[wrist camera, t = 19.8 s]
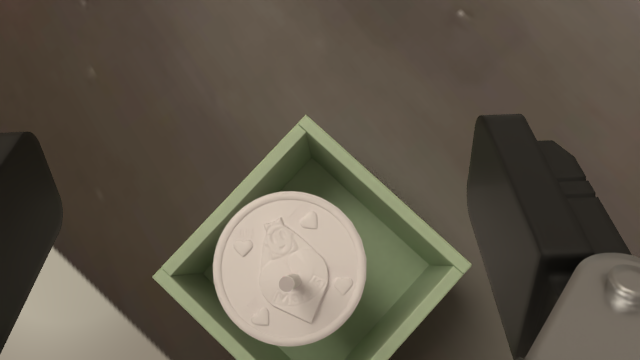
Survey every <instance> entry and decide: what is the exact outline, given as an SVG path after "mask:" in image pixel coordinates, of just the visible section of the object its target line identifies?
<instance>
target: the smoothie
mask: <svg viewBox="0 0 640 360" xmlns="http://www.w3.org/2000/svg"><path fill="white" fill-rule="evenodd" d="M366 262H367V258H366V255H365V251H364V247H363V243H362V239H361V237H360V235H359V234H358V232H357V230H356V228H355V227H354V225H353V223H352V221H351V220H350V219H349V218H348V217H347V216H346V215H345V214H344V213H343V212H342V211H341V210H340V209H339V208H338V207H336V206H334V205H333V204H332V203H330V202H328V201H327V200H325V199H323V198H321V197H318V196H315V195H312V194H309V193H304V192H297V191H283V192H276V193H272V194H268V195H265V196H262V197H260V198H258V199H255V200H254V201H252V202H250V203H249V204H247V205H246V206H244V207H243V208H242V209H241V210H239V211H238V212H237V213H236V214H235V215H234V216H233V217H232V219H231V220H230V221H229V222H228V224H227V225H226V227H225V228H224V230H223V232H222V234H221V236H220V238H219V240H218V243H217V246H216V249H215V254H214V260H213V279H214V285H215V289H216V293H217V296H218V298H219V301H220V303H221V305H222V307H223V309H224V310H225V312H226V313H227V315H228V316H229V317H230V319H231V320H232V321H233V322H234V323H235V324H236V325H237V326H238V327H239V328H240V329H241V330H243V331H244V332H245V333H247V334H248V335H250V336H251V337H253V338H255V339H257V340H260V341H262V342H265V343H268V344H272V345H277V346H287V347H289V346H302V345H306V344H311V343H313V342H316V341H319V340H321V339H323V338H325V337H327V336H329V335H330V334H332V333H333V332H335V331H336V330H337V329H338V328H340V327H341V326H342V325H343V324H344V323H345V322H346V321H347V320H348V318H349V317H350V316H351V315H352V313H353V312H354V310H355V308H356V307H357V305H358V303H359V301H360V299H361V296H362V293H363V290H364V286H365V282H366Z"/></svg>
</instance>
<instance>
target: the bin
mask: <svg viewBox="0 0 640 360" xmlns="http://www.w3.org/2000/svg"><path fill="white" fill-rule="evenodd" d="M283 191H297V192H304V193H309V194H312V195H315V196H318V197H321V198H323V199H325V200H327V201H328V202H330V203H332V204H333V205H334V206H336V207H338V208H339V209H340V210H341V211H342V212H343V213H344V214H345V215H346V216H347V217H348V218H349V219H350V220H351V221H352V223H353V225H354V227H355V228H356V230H357V232H358V234H359V235H360V237H361V239H362V243H363V247H364V251H365V255H366V258H367V262H366V282H365V286H364V290H363V293H362V296H361V299H360V301H359V303H358V305H357V307H356V308H355V310H354V312H353V313H352V315H351V316H350V317H349V318H348V320H347V321H346V322H345V323H344V324H343V325H342V326H341V327H340V328H338V329H337V330H336V331H335V332H333V333H332V334H330V335H329V336H327V337H325V338H323V339H321V340H319V341H316V342H313V343H311V344H306V345H302V346H289V347H287V346H277V345H272V344H268V343H265V342H262V341H260V340H257V339H255V338H253V337H251V336H250V335H248V334H247V333H245V332H244V331H243V330H241V329H240V328H239V327H238V326H237V325H236V324H235V323H234V322H233V321H232V320H231V319H230V317H229V316H228V315H227V313H226V312H225V310H224V309H223V307H222V305H221V303H220V301H219V298H218V296H217V293H216V289H215V285H214V279H213V260H214V254H215V249H216V246H217V243H218V240H219V238H220V236H221V234H222V232H223V230H224V228H225V227H226V225H227V224H228V222H229V221H230V220H231V219H232V217H233V216H234V215H235V214H236V213H237V212H238V211H239V210H241V209H242V208H243V207H244V206H246V205H247V204H249V203H250V202H252V201H254V200H255V199H258V198H260V197H262V196H265V195H268V194H272V193H276V192H283ZM471 266H472V264H471V263H470V262H469V261H468V260H466V259H465V258H464V257H463V256H462V255H461V254H460V253H459V252H458V251H457V250H455V249H454V248H453V247H452V246H451V245H450V244H449V243H448V242H447V241H445V240H444V239H443V238H442V237H441V236H440V235H439V234H438V233H437V232H436V231H434V230H433V229H432V228H431V227H430V226H429V225H428V224H427V223H426V222H424V221H423V220H422V219H421V218H420V217H419V216H418V215H417V214H416V213H415V212H413V211H412V210H411V209H410V208H409V207H408V206H407V205H406V204H405V203H403V202H402V201H401V200H400V199H399V198H398V197H397V196H396V195H395V194H394V193H392V192H391V191H390V190H389V189H388V188H387V187H386V186H385V185H384V184H382V183H381V182H380V181H379V180H378V179H377V178H376V177H375V176H374V175H373V174H371V173H370V172H369V171H368V170H367V169H366V168H365V167H364V166H363V165H361V164H360V163H359V162H358V161H357V160H356V159H355V158H354V157H353V156H351V155H350V154H349V153H348V152H347V151H346V150H345V149H344V148H343V147H342V146H340V145H339V144H338V143H337V142H336V141H335V140H334V139H333V138H332V137H330V136H329V135H328V134H327V133H326V132H325V131H324V130H323V129H322V128H321V127H319V126H318V125H317V124H316V123H315V122H314V121H313V120H312V119H311V118H309V117H308V116H307V115H305V116H304V117H303V118H302V119H301V120H300V121H299V122H298V124H296V125H295V127H294V128H293V129H292V130H291V131H290V132H289V133H288V134H287V135H286V136H285V137H284V138H283V139H282V140H281V141H280V142H279V143H278V144H277V146H276V147H275V148H274V149H273V150H272V151H271V152H270V153H269V154H268V155H267V156H266V157H265V158H264V159H263V160H262V161H261V162H260V163H259V165H258V166H257V167H256V168H255V169H254V170H253V171H252V172H251V173H250V174H249V175H248V176H247V177H246V178H245V179H244V180H243V181H242V182H241V184H240V185H239V186H238V187H237V188H236V189H235V190H234V191H233V192H232V193H231V194H230V195H229V196H228V197H227V198H226V199H225V200H224V201H223V203H222V204H221V205H220V206H219V207H218V208H217V209H216V210H215V211H214V212H213V213H212V214H211V215H210V216H209V217H208V218H207V219H206V220H205V222H204V223H203V224H202V225H201V226H200V227H199V228H198V229H197V230H196V231H195V232H194V233H193V234H192V235H191V236H190V237H189V238H188V239H187V241H186V242H185V243H184V244H183V245H182V246H181V247H180V248H179V249H178V250H177V251H176V252H175V253H174V254H173V255H172V256H171V257H170V258H169V260H168V261H167V262H166V263H165V264H164V265H163V266H162V268H160V269H159V270H158V271H157V272H156V273H155V274H154V275H153V278H154V279H155V280H156V281H157V282H158V283H159V284H160V285H161V286H162V287H163V288H164V289H165V290H166V291H167V292H168V293H169V294H170V295H171V296H172V297H173V298H174V299H175V300H176V301H177V302H178V303H179V304H180V305H181V306H182V307H183V308H184V309H185V310H186V311H187V312H188V313H189V314H190V315H191V316H192V317H193V318H194V319H195V320H196V321H198V322H199V323H200V324H201V325H202V326H203V327H204V328H205V329H206V330H207V331H208V332H209V333H210V334H211V335H212V336H213V337H214V338H215V339H216V340H217V341H218V342H219V343H220V344H221V345H222V346H223V347H224V348H225V349H226V350H227V351H228V352H229V353H230V354H231V355H232V356H233V357H234V358H235V359H236V360H388V359H389V358H390V357H391V356H392V355H393V354H394V352H395V351H396V350H397V349H398V348H399V347H400V346H401V345H402V344H403V342H404V341H405V340H406V339H407V338H408V337H409V336H410V335H411V333H412V332H413V331H414V330H415V329H416V328H417V327H418V326H419V324H420V323H421V322H422V321H423V320H424V319H425V318H426V317H427V315H428V314H429V313H430V312H431V311H432V310H433V309H434V308H435V306H436V305H437V304H438V303H439V302H440V301H441V300H442V299H443V297H444V296H445V295H446V294H447V293H448V292H449V291H450V290H451V288H452V287H453V286H454V285H455V284H456V283H457V282H458V281H459V279H460V278H461V277H462V276H463V274H465V273H466V272H467V270H468V269H469V268H470V267H471Z"/></svg>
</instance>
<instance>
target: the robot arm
mask: <svg viewBox="0 0 640 360" xmlns="http://www.w3.org/2000/svg"><path fill="white" fill-rule="evenodd" d="M467 206H468V213H469V217H470V221H471V224H472V227H473V230H474V234H475V237H476V240H477V243H478V247H479V250H480V253H481V256H482V259H483V263H484V266H485V269H486V272H487V276H488V279H489V282H490V285H491V288H492V292H493V295H494V298H495V301H496V305H497V308H498V311H499V314H500V318H501V321H502V324H503V327H504V330H505V334H506V337H507V340H508V343H509V347H510V350H511V353H512V356H513V359H514V360H640V258H639V257H636V256H633V255H631V253H630V251H629V249H628V248H627V246H626V244H625V243H624V241H623V239H622V238H621V236H620V234H619V232H618V231H617V229H616V227H615V226H614V224H613V222H612V220H611V219H610V217H609V215H608V214H607V212H606V210H605V208H604V207H603V205H602V203H601V202H600V200H599V198H598V197H595V191H594V190H593V188H592V186H591V185H590V183H589V181H586V176H585V174H584V173H583V171H582V169H581V168H580V166H579V164H578V162H577V161H576V159H575V157H574V156H572V155H571V154H570V153H568V152H567V151H566V150H564V149H563V148H562V147H561V146H559V145H558V144H557V143H555V142H554V141H553V140H551V141H537V140H536V138H535V136H534V134H533V132H532V130H531V128H530V127H529V125H528V123H527V121H526V119H525V117H524V116H523V115H522V114H506V115H481V116H479V117H478V118H477V121H476V124H475V130H474V138H473V145H472V152H471V160H470V167H469V174H468V182H467ZM62 218H63V209H62V202H61V198H60V195H59V193H58V190H57V187H56V185H55V182H54V180H53V177H52V174H51V172H50V169H49V166H48V164H47V161H46V159H45V156H44V153H43V151H42V148H41V146H40V143H39V141H38V139H37V138H36V136H35V135H34V134H32V133H31V132H11V133H0V353H1V351H2V349H3V347H4V345H5V343H6V341H7V339H8V336H9V335H10V333H11V331H12V328H13V327H14V324H15V322H16V320H17V318H18V316H19V314H20V312H21V310H22V308H23V306H24V304H25V301H26V300H27V297H28V295H29V293H30V291H31V289H32V287H33V285H34V283H35V281H36V279H37V277H38V274H39V273H40V270H41V269H42V267H43V264H44V262H45V260H46V258H47V256H48V254H49V252H50V250H51V248H52V246H53V244H54V242H55V240H56V238H57V236H58V233H59V231H60V229H61V225H62Z"/></svg>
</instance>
